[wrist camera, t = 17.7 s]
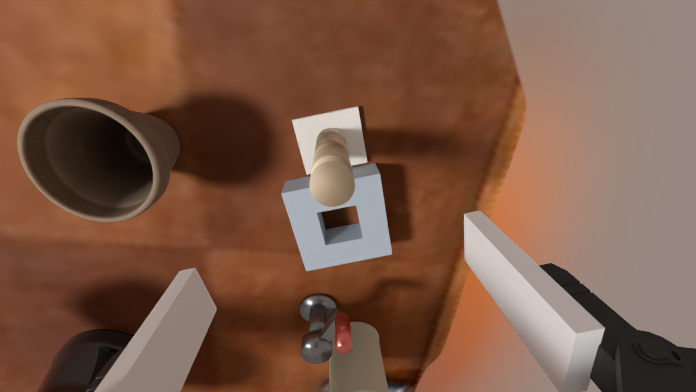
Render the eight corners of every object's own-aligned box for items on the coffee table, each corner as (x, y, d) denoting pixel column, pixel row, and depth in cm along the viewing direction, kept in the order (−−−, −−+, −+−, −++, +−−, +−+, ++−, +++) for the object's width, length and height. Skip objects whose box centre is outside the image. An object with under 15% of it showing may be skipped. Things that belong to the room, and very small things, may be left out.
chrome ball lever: (296, 345, 42) (292, 387, 36) (331, 299, 38) (332, 337, 33) (322, 354, 43) (322, 396, 37) (358, 310, 40) (364, 349, 34)
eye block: (308, 253, 43) (306, 271, 39) (285, 180, 37) (281, 193, 34) (386, 238, 42) (392, 254, 39) (374, 162, 37) (380, 173, 34)
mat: (306, 172, 37) (306, 174, 37) (292, 119, 34) (292, 120, 34) (366, 160, 37) (367, 162, 36) (357, 106, 34) (358, 106, 33)
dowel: (320, 159, 36) (315, 210, 23) (313, 131, 34) (304, 169, 22) (348, 153, 36) (358, 201, 23) (342, 125, 34) (350, 160, 22)
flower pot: (118, 66, 31) (29, 67, 22) (218, 126, 34) (177, 149, 25) (87, 152, 34) (0, 184, 25) (180, 199, 38) (133, 242, 28)
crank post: (305, 323, 49) (302, 355, 43) (296, 297, 46) (291, 328, 41) (339, 316, 48) (341, 348, 43) (332, 290, 46) (332, 321, 40)
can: (383, 322, 50) (399, 394, 39) (373, 357, 54) (385, 432, 43) (331, 319, 49) (333, 392, 38) (324, 355, 52) (324, 431, 42)
